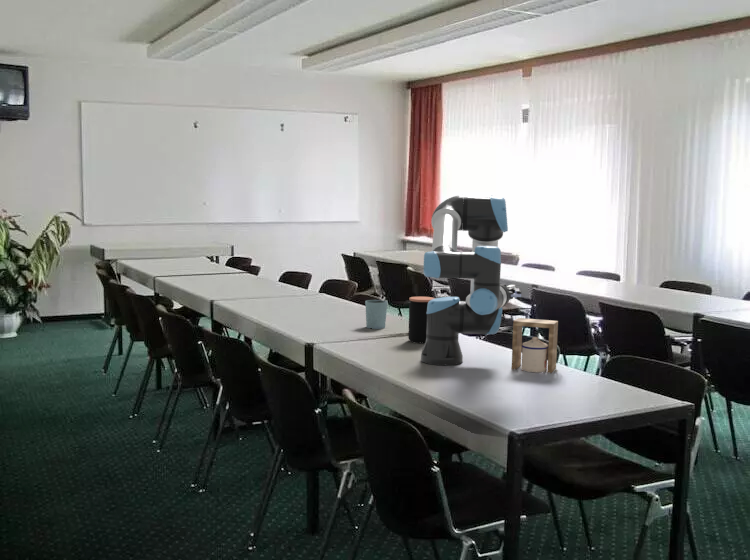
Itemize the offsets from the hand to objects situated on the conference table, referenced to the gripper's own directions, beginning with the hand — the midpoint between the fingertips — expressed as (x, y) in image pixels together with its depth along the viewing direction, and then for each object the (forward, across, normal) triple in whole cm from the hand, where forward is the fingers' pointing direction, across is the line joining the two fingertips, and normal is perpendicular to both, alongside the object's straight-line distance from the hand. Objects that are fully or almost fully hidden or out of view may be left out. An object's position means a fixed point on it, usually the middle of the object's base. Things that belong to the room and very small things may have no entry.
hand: (513, 288), depth 260 cm
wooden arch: (+19, +4, -30) cm, 36 cm away
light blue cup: (+73, -79, -30) cm, 112 cm away
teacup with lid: (+19, +4, -30) cm, 36 cm away
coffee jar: (+50, -49, -30) cm, 77 cm away
